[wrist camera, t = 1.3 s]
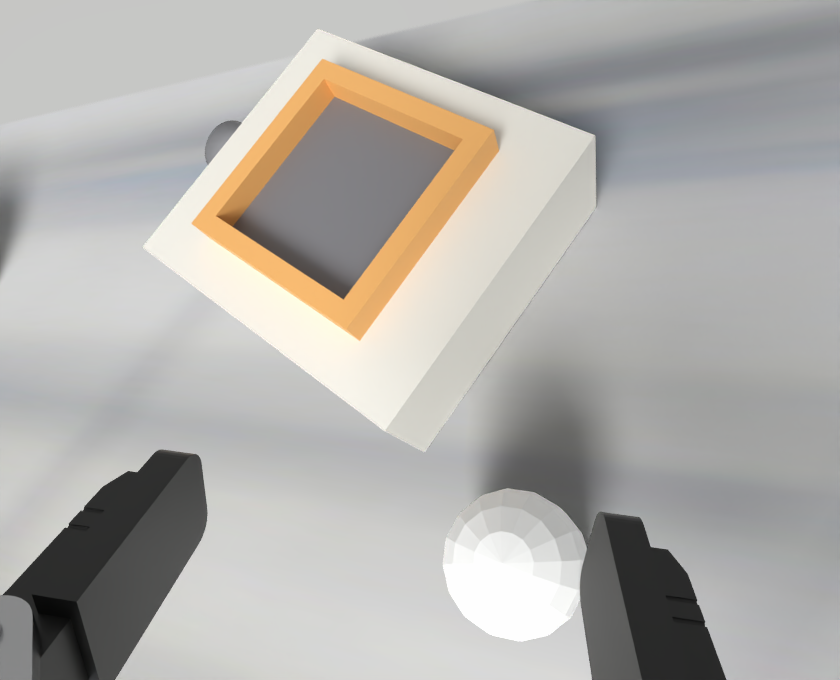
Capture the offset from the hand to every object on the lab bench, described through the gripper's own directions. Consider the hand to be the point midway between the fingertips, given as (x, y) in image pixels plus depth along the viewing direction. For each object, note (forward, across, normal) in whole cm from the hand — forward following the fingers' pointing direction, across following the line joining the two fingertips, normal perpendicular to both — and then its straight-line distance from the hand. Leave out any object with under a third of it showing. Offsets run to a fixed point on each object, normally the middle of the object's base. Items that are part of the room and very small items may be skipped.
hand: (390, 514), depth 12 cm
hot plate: (+24, +5, +2) cm, 25 cm away
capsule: (+11, -5, +12) cm, 17 cm away
